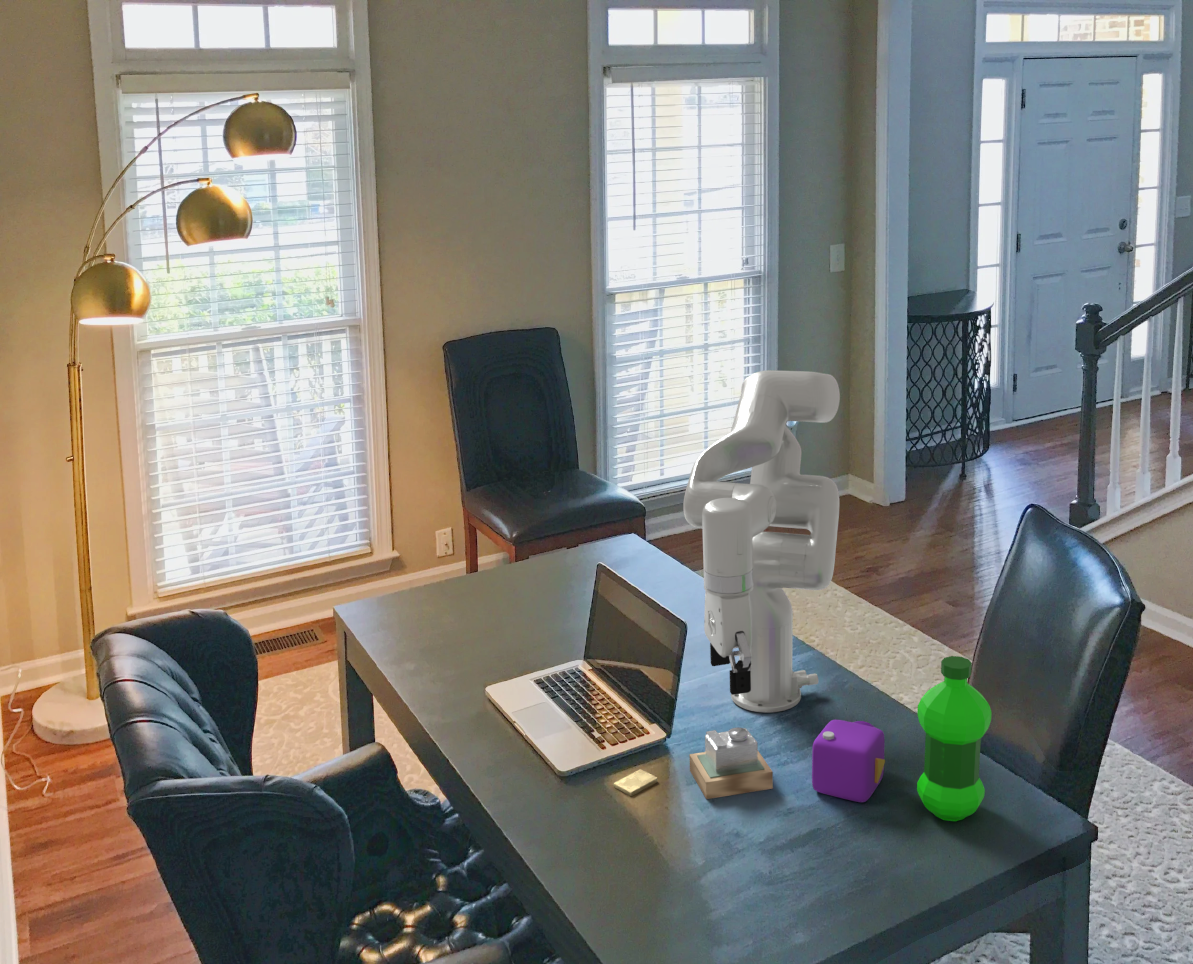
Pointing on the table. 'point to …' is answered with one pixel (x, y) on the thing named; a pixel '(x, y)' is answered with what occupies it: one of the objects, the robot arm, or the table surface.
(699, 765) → the picture frame
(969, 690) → the plastic bottle
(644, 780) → the cover plate
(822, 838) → the table surface
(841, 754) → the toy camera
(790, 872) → the table surface
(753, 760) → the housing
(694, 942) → the table surface
